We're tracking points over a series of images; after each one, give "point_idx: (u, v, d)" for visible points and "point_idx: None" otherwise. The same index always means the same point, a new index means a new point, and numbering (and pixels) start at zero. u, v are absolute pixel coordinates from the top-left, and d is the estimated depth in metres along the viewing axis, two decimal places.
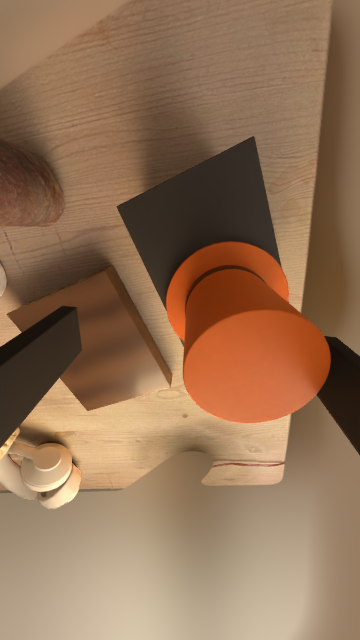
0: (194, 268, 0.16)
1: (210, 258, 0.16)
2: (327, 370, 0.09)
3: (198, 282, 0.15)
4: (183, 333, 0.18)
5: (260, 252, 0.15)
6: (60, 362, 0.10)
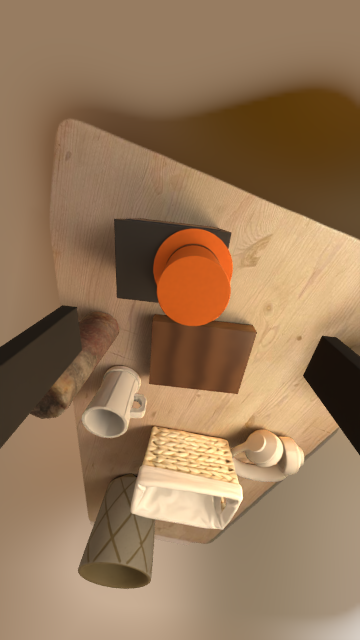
0: None
1: (160, 267, 0.26)
2: (208, 259, 0.17)
3: None
4: None
5: (170, 238, 0.24)
6: (60, 362, 0.10)
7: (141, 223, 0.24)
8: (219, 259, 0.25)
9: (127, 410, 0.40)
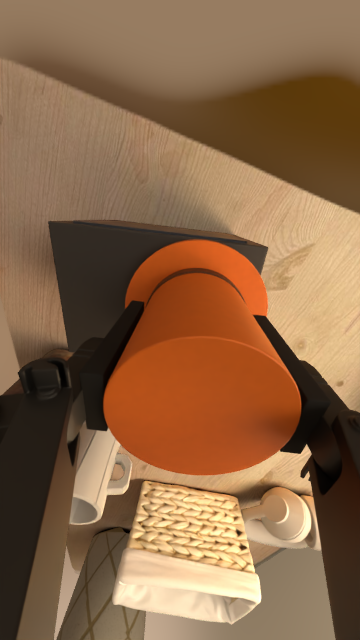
0: None
1: None
2: (247, 348, 0.06)
3: None
4: None
5: (153, 258, 0.13)
6: None
7: (99, 229, 0.13)
8: (244, 295, 0.14)
9: (102, 488, 0.29)
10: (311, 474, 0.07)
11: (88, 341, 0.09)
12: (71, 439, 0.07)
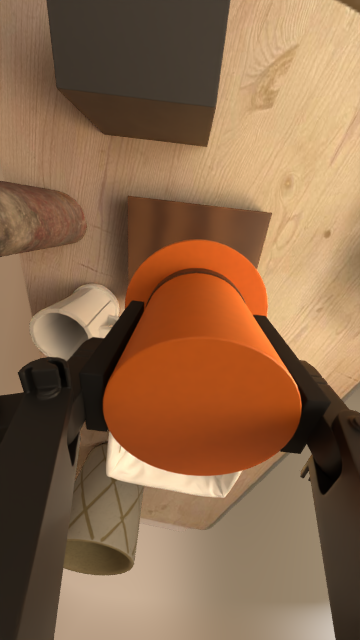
0: None
1: None
2: (247, 348, 0.06)
3: None
4: None
5: (153, 258, 0.13)
6: None
7: None
8: (244, 295, 0.14)
9: (94, 323, 0.29)
10: (311, 474, 0.07)
11: (88, 341, 0.09)
12: (72, 439, 0.07)
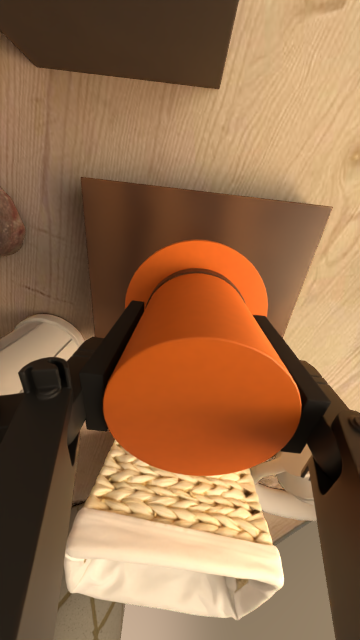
0: None
1: None
2: (247, 349, 0.06)
3: None
4: None
5: (153, 258, 0.13)
6: None
7: None
8: (244, 295, 0.14)
9: None
10: (311, 474, 0.07)
11: (88, 341, 0.09)
12: (71, 439, 0.07)
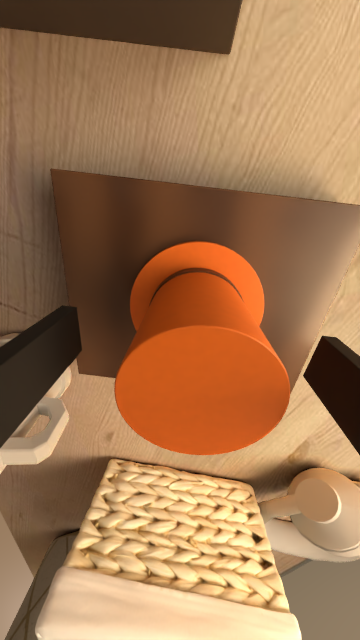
0: None
1: (141, 304, 0.15)
2: (241, 335, 0.07)
3: None
4: None
5: (157, 258, 0.14)
6: (60, 362, 0.10)
7: None
8: (242, 293, 0.15)
9: None
10: None
11: None
12: None
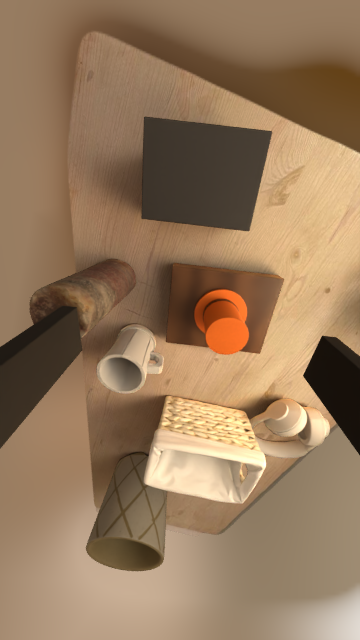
0: (199, 318, 0.40)
1: (199, 311, 0.40)
2: (237, 319, 0.31)
3: (203, 322, 0.39)
4: None
5: (207, 295, 0.38)
6: (60, 362, 0.10)
7: (173, 121, 0.22)
8: (238, 307, 0.39)
9: (144, 362, 0.37)
10: None
11: None
12: None
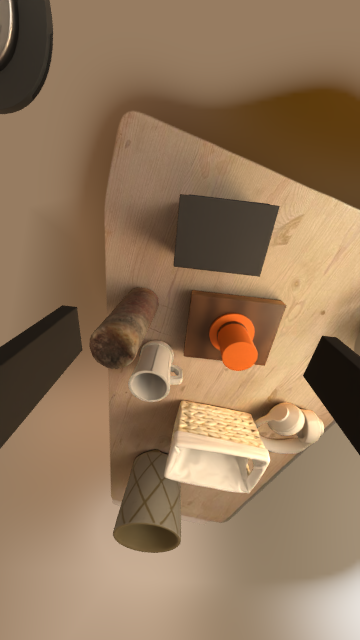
0: (213, 337, 0.47)
1: (213, 331, 0.46)
2: (248, 343, 0.37)
3: (217, 340, 0.46)
4: None
5: (221, 318, 0.45)
6: (60, 362, 0.10)
7: (203, 198, 0.29)
8: (247, 328, 0.46)
9: (168, 376, 0.44)
10: None
11: None
12: None
